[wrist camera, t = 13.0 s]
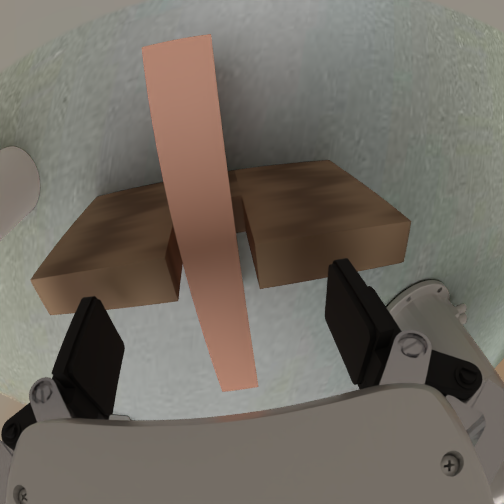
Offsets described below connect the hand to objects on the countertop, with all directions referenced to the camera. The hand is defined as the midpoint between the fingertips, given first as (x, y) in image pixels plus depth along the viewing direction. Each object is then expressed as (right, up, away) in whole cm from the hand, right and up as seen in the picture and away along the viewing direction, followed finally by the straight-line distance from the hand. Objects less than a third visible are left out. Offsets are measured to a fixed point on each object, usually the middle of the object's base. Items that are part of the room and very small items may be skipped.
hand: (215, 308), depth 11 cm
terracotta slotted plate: (-2, +7, +12) cm, 14 cm away
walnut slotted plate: (-2, +7, +12) cm, 14 cm away
